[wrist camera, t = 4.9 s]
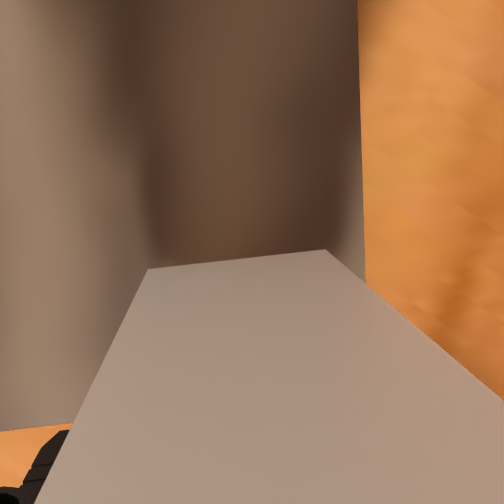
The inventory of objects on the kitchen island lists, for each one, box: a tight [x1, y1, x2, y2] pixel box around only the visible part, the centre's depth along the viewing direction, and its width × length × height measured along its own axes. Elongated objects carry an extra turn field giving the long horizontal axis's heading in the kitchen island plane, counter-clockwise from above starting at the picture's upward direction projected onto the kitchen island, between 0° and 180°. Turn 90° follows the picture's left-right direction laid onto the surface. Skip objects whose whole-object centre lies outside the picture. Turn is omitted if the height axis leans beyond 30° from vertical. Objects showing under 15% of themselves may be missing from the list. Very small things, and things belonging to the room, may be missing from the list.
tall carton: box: [34, 249, 504, 504], centre depth 9 cm, size 5×6×10 cm
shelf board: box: [0, 0, 366, 432], centre depth 15 cm, size 16×22×3 cm
